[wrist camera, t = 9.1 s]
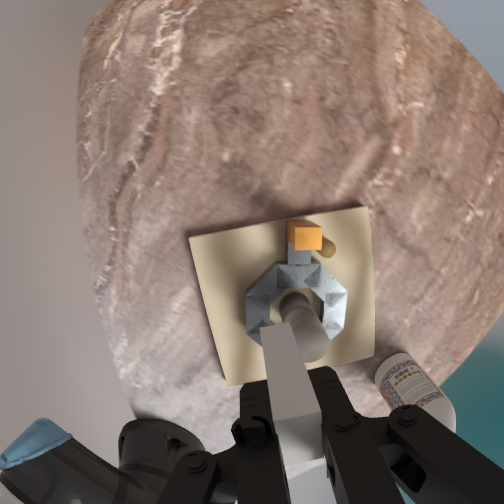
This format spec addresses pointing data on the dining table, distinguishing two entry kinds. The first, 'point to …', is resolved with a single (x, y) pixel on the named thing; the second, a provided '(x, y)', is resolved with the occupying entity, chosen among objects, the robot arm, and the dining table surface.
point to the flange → (296, 282)
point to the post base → (287, 291)
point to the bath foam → (413, 388)
